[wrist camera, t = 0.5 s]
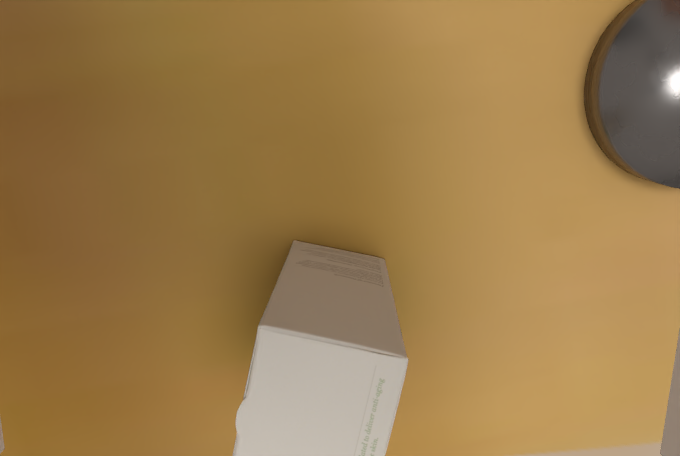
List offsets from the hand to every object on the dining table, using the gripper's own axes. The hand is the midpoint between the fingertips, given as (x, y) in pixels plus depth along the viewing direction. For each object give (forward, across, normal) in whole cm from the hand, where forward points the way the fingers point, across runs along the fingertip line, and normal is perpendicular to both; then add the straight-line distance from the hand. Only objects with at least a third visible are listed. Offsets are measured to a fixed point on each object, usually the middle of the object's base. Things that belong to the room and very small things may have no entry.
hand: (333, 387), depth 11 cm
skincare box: (+27, -1, -8) cm, 28 cm away
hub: (+26, +21, +6) cm, 34 cm away
